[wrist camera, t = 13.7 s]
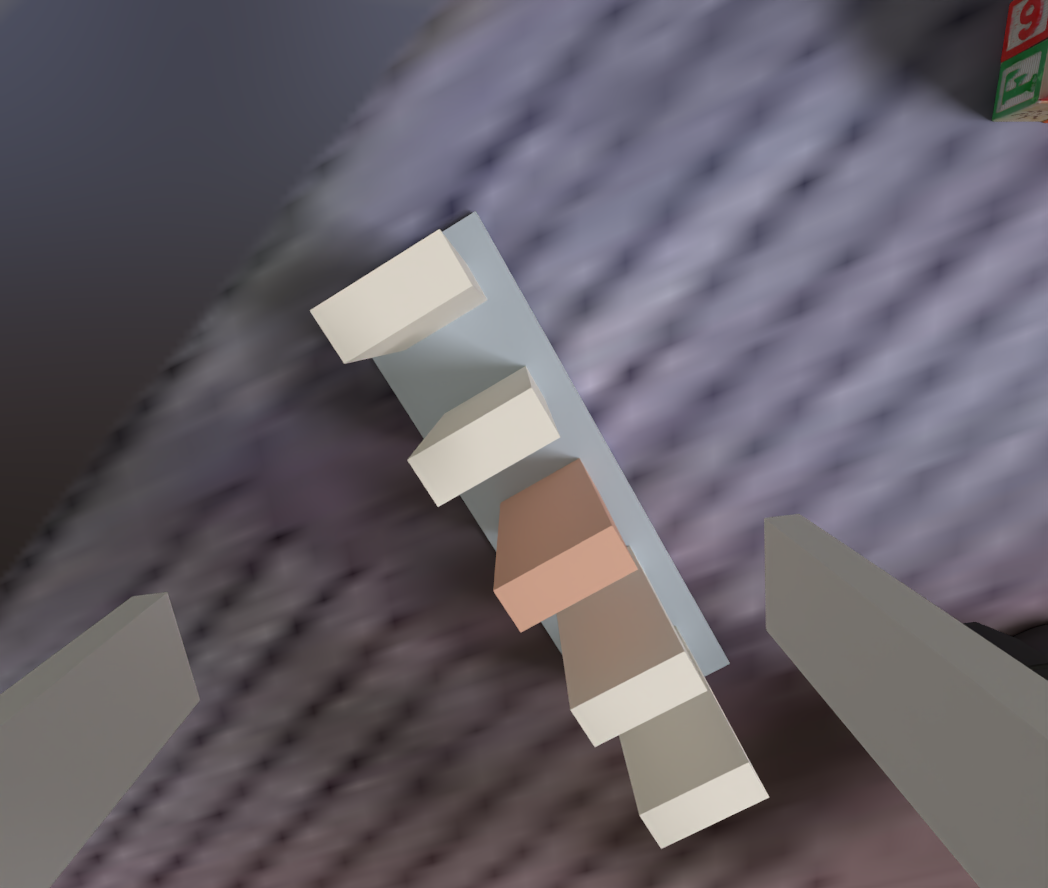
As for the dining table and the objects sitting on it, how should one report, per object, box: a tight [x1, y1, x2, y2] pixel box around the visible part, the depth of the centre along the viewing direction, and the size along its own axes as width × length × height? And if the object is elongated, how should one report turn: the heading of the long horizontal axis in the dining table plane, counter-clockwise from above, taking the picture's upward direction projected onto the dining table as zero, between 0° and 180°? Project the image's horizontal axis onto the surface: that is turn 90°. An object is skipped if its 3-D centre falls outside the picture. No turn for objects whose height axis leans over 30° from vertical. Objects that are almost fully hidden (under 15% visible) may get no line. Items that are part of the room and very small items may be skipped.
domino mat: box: [372, 211, 730, 677], centre depth 36 cm, size 35×10×1 cm, turn 30°
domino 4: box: [619, 626, 769, 849], centre depth 32 cm, size 2×6×12 cm, turn 120°
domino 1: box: [407, 366, 560, 507], centre depth 28 cm, size 2×6×12 cm, turn 120°
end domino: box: [310, 229, 487, 364], centre depth 27 cm, size 2×6×12 cm, turn 120°
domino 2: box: [493, 458, 638, 632], centre depth 29 cm, size 2×6×12 cm, turn 121°
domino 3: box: [556, 546, 707, 747], centre depth 31 cm, size 2×6×12 cm, turn 120°
